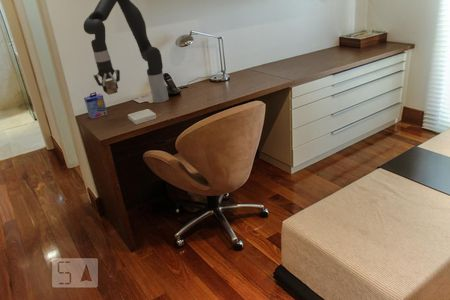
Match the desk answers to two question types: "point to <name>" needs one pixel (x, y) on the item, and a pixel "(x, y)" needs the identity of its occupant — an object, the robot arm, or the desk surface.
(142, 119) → the riser
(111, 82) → the block
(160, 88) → the robot arm
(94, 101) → the ink cartridge box
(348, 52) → the desk surface
